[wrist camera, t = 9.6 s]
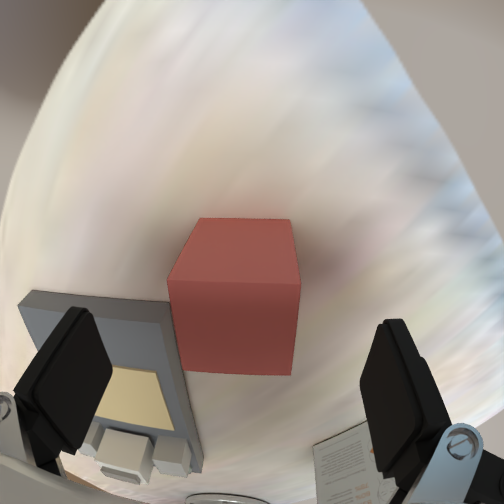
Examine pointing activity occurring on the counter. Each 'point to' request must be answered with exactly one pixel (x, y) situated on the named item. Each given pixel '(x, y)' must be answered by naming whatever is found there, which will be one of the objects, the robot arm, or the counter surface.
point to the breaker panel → (131, 374)
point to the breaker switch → (125, 457)
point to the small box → (350, 470)
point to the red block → (236, 297)
